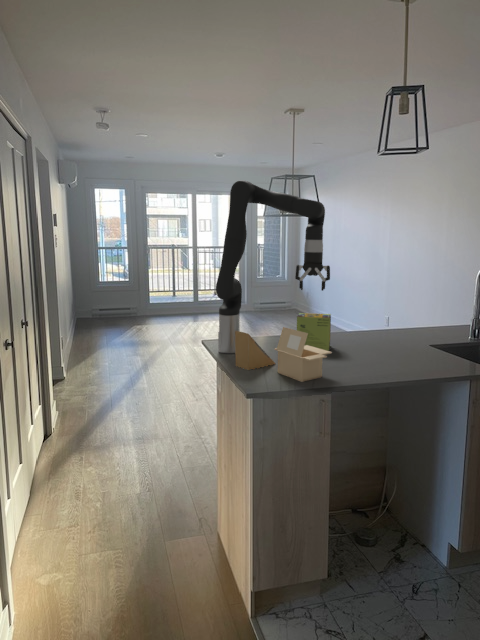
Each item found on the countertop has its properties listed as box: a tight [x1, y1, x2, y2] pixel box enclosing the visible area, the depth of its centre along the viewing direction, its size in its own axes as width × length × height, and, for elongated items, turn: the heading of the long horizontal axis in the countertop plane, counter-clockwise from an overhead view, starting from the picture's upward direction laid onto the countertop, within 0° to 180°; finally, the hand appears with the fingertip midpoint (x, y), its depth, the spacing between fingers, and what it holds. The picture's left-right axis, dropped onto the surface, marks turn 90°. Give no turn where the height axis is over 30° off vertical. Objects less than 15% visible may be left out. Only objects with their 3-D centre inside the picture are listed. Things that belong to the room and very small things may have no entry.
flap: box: [276, 326, 308, 357], centre depth 182 cm, size 14×9×1 cm
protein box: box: [296, 312, 332, 351], centre depth 228 cm, size 10×15×16 cm
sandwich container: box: [234, 330, 276, 371], centre depth 199 cm, size 9×15×15 cm, turn 129°
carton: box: [274, 345, 333, 383], centre depth 187 cm, size 20×15×9 cm
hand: (312, 290), depth 204 cm, fingers open, 8 cm apart
